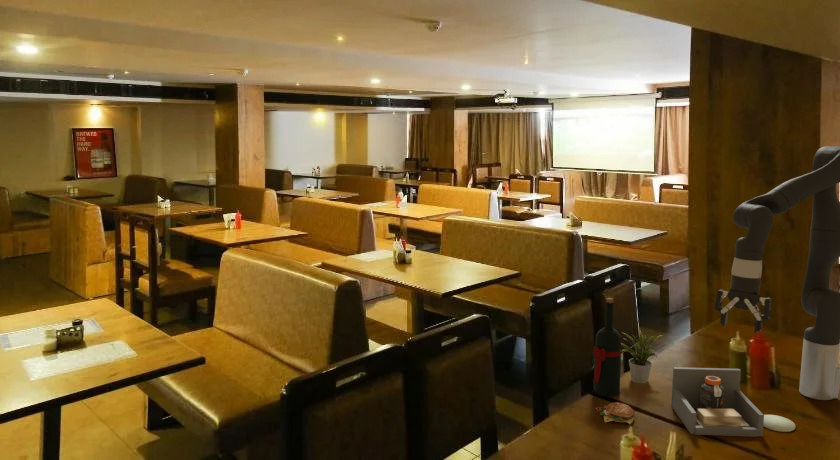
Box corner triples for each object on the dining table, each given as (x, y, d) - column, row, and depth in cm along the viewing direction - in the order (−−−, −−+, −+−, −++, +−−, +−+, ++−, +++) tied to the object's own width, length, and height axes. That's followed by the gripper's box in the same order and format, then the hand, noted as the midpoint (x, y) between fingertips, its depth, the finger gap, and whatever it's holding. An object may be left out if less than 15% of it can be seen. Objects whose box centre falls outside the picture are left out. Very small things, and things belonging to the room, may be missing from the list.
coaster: (785, 417, 175) (785, 415, 175) (801, 432, 167) (801, 430, 167) (752, 416, 176) (752, 414, 176) (766, 431, 168) (766, 429, 167)
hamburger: (634, 408, 183) (635, 389, 182) (641, 430, 170) (642, 410, 169) (585, 404, 186) (586, 385, 185) (588, 426, 173) (589, 406, 172)
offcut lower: (740, 425, 172) (741, 417, 172) (748, 434, 167) (749, 425, 167) (692, 424, 173) (693, 416, 172) (699, 433, 168) (700, 425, 168)
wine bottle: (583, 392, 193) (586, 299, 189) (603, 384, 200) (606, 293, 195) (605, 401, 187) (609, 304, 183) (624, 391, 194) (628, 298, 189)
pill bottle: (724, 421, 174) (727, 382, 172) (702, 419, 175) (704, 381, 173) (719, 411, 179) (721, 374, 178) (697, 410, 181) (699, 373, 179)
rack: (736, 407, 182) (739, 368, 180) (762, 436, 165) (766, 394, 163) (671, 405, 184) (673, 367, 182) (690, 434, 166) (693, 392, 164)
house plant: (645, 368, 212) (647, 322, 210) (674, 383, 199) (676, 335, 197) (610, 374, 208) (611, 327, 205) (636, 390, 195) (639, 340, 192)
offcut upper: (732, 417, 172) (733, 408, 171) (740, 424, 167) (741, 416, 167) (696, 417, 172) (696, 408, 172) (703, 424, 167) (704, 416, 167)
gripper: (777, 276, 175) (770, 332, 178) (723, 268, 185) (717, 321, 187) (771, 280, 170) (764, 337, 172) (715, 271, 179) (710, 326, 181)
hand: (740, 329), depth 179 cm, fingers open, 8 cm apart
